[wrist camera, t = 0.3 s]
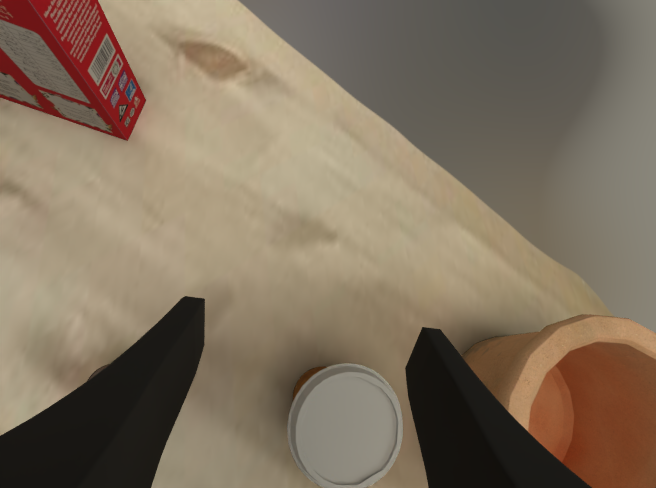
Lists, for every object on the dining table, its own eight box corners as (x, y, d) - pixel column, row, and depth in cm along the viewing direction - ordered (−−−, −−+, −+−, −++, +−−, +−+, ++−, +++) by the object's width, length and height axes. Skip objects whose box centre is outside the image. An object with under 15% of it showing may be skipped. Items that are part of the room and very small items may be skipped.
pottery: (608, 380, 48) (755, 406, 34) (538, 552, 42) (680, 669, 28) (477, 279, 46) (573, 265, 33) (385, 442, 41) (455, 508, 27)
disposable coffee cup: (271, 442, 38) (281, 497, 27) (283, 347, 40) (297, 360, 29) (360, 446, 40) (405, 500, 28) (367, 355, 42) (412, 370, 30)
